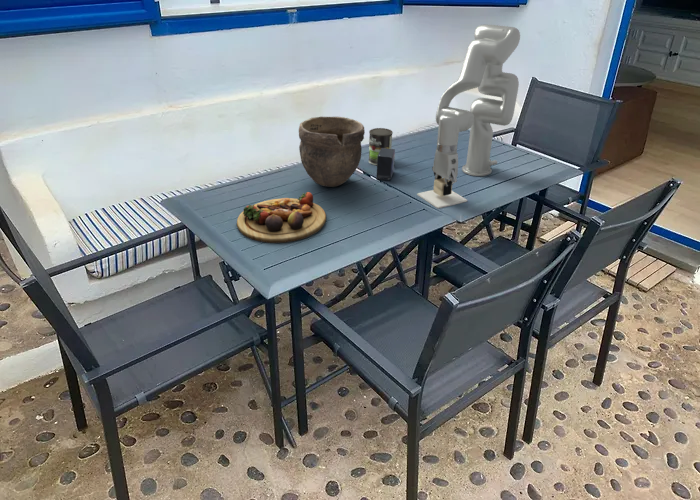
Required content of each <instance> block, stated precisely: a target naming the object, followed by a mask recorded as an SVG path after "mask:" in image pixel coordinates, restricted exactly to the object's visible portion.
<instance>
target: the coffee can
mask: <svg viewBox="0 0 700 500" xmlns="http://www.w3.org/2000/svg"><path fill="white" fill-rule="evenodd" d="M368 132H369V140H368V141H369V143H368V146H369V147H368V163H369V164H371V165H373V166H377V156H378V154H379V152H380V150H381V148H388V149H393V147H392V145H393V133H394V132H393V131H392V130H391V129H389V128H384V127H376V128H371V129H370V130H369V131H368Z"/></svg>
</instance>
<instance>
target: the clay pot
mask: <svg viewBox="0 0 700 500" xmlns="http://www.w3.org/2000/svg"><path fill="white" fill-rule="evenodd" d="M298 137H299V141H300V142H299V147H298V150H299V155H300V156H299V157H300V161H301V164H302V166H303V168H304V170H305V172H306V173H307V175H308V176H309V177H310V179H311V180H312V181H313V182H314V183H316V184H318V185H320V186H322V187H329V188H331V187H332V188H334V187H339V186H341V185H343V184H344V183H346V182H347V181H348V180H349V179H350V178H351V176H352V175H353V174H354V173H355V172H356V170H357V168H358V166H359V165H360V162H361V158H362V148H363V147H362V141H364V139H365V126H364V124H363V123H362V122H360V121H359V120H355V119H353V118H348V117H345V116H317V117H316V116H315V117H311V118H308V119H305V120H303V121H302V122H300V123H299V127H298Z"/></svg>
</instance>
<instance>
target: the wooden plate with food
mask: <svg viewBox="0 0 700 500" xmlns="http://www.w3.org/2000/svg"><path fill="white" fill-rule="evenodd" d="M326 221H327V214H326V212H325V210H324V209H323V208H322V206H320V205H319V204H317V203H315V202H314V195H313V194H312V193H311V192H309V191H306V192H303V193H302V194H301V195H300V196H298V198H291V197H290V198H289V197H282V198H273V199H268V200H264V201H261V202H257V203H253V204H252V205H251V204H248V205H246V206H245V207H244V208H243V211H242V212H241V213H240V214H239V215H238V217H237V220H236V227H237V229H238V230H239V232H240V233H241V235H243V236H245V237H246V238H248V239H250V240H253V241H256V242H257V241H258V242H259V243H268V244H280V243H281V244H282V243H283V244H286V243H291V242H297V241H300V240H302V239H303V240H304V239H307V238H309V237H311V236H313V235H314V234H316V233H318V232H319V231H320V230H322V228H323V227H324V225H326Z"/></svg>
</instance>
